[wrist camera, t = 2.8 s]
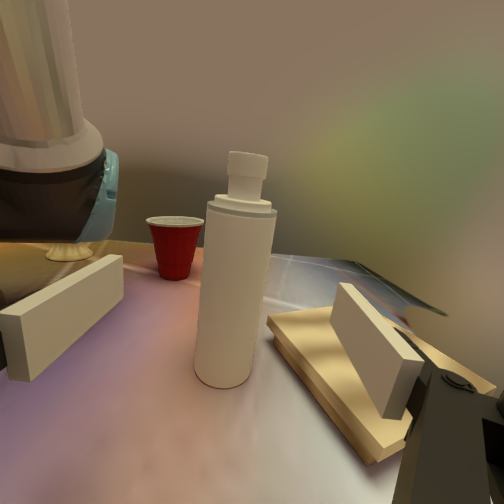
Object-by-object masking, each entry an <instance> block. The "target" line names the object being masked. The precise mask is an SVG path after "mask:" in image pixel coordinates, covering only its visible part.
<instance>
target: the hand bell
mask: <svg viewBox="0 0 504 504" xmlns="http://www.w3.org/2000/svg"><path fill="white" fill-rule="evenodd" d="M92 255H93V253H92V251H91V250H90V249H88V248H87V247H86V245H85V244H84V242H79V243H77V244H72V243H54V244H53V247H52V248H51V250H50V251H48V252H47V254H46V256H45V257H46V258H47V259H50V260H53V261H78V260H83V259H87V258H89V257H91V256H92Z"/></svg>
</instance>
